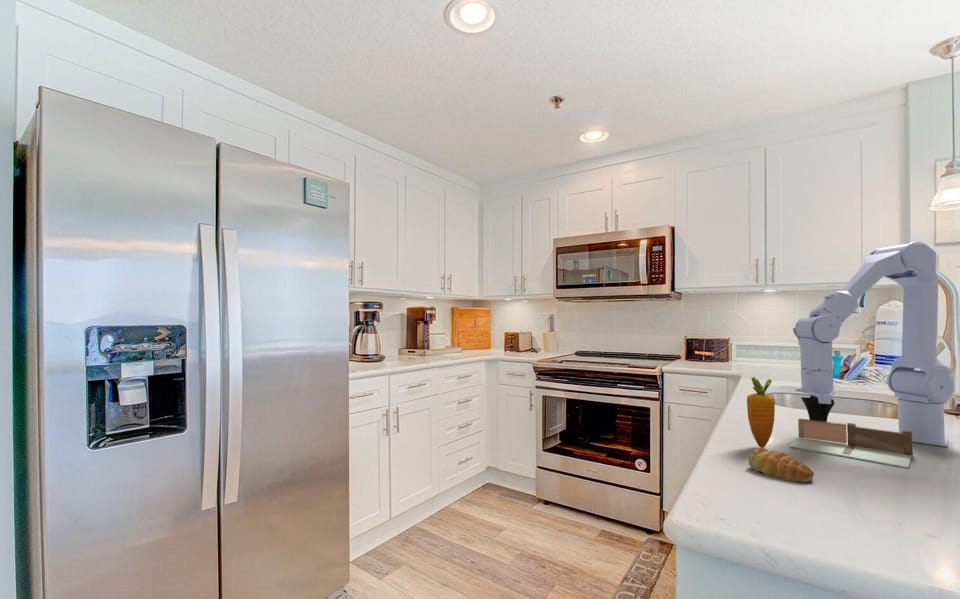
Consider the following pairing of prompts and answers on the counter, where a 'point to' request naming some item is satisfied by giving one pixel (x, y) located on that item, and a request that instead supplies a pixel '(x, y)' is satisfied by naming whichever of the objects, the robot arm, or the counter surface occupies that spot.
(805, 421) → the hinged panel
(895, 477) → the counter surface
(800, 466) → the pastry
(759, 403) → the carrot
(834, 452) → the card
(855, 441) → the fence fixed
